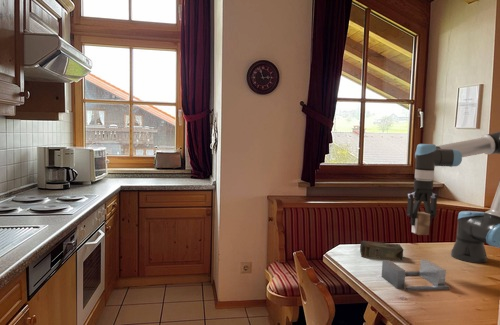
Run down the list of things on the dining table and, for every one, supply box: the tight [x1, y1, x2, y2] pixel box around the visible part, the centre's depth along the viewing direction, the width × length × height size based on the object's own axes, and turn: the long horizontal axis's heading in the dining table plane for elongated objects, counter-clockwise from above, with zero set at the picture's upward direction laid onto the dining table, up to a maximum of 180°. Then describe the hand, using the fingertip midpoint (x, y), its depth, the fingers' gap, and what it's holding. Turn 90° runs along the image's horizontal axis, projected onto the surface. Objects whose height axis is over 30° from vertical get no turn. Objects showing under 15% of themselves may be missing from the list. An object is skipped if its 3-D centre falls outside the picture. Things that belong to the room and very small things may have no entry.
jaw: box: [418, 258, 447, 286], centre depth 152 cm, size 3×12×7 cm, turn 8°
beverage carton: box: [359, 240, 404, 261], centre depth 182 cm, size 8×19×7 cm, turn 80°
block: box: [416, 211, 431, 236], centre depth 164 cm, size 5×5×9 cm
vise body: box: [381, 259, 451, 292], centre depth 151 cm, size 20×16×7 cm
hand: (420, 232), depth 164 cm, fingers closed on block, 5 cm apart
